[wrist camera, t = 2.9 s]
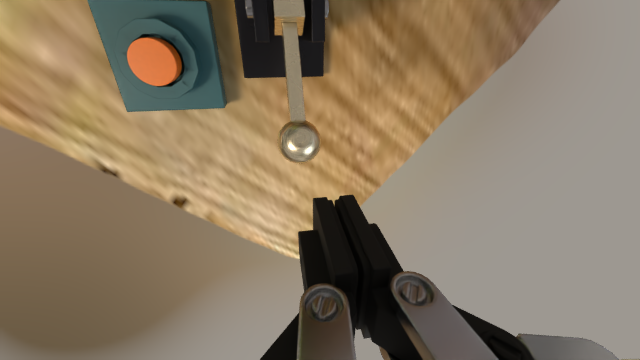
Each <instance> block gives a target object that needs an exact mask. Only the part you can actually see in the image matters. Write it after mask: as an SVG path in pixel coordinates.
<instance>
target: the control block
mask: <svg viewBox="0 0 640 360" xmlns="http://www.w3.org/2000/svg"><path fill="white" fill-rule="evenodd" d="M88 3H89V6H90V9H91V12H92V14H93V17H94V20H95V23H96V26H97V28H98V31H99V34H100V37H101V40H102V42H103V45H104V48H105V51H106V54H107V56H108V59H109V62H110V65H111V68H112V70H113V73H114V76H115V79H116V82H117V84H118V87H119V90H120V93H121V96H122V98H123V101H124V104H125V107H126V110H127V112H135V111H160V110H186V109H211V108H225V106H226V104H227V101H226V95H225V89H224V83H223V77H222V71H221V65H220V59H219V53H218V47H217V41H216V35H215V29H214V23H213V17H212V11H211V5H210V3H208V2H206V1H185V0H88ZM147 37H155V38H160V39H162V40H165V41H166V42H168V43H169V44H171V45H172V46H173V47H174V48H175V49H176V51H177V52H178V54H179V56H180V58H181V62H182V70H181V73H180V75H179V77H178V78H177V79H176V80H175V81H173V82H171V83H169V84H167V85H164V86H153V85H150V84H147V83H145V82H143V81H142V80H140V79H139V78H138V77H137V76H136V75H135V74H134V73H133V71H132V70H131V68H130V66H129V64H128V60H127V51H128V48H129V46H130V45H131V43H132V42H133V41H135V40H137V39H139V38H147Z"/></svg>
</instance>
